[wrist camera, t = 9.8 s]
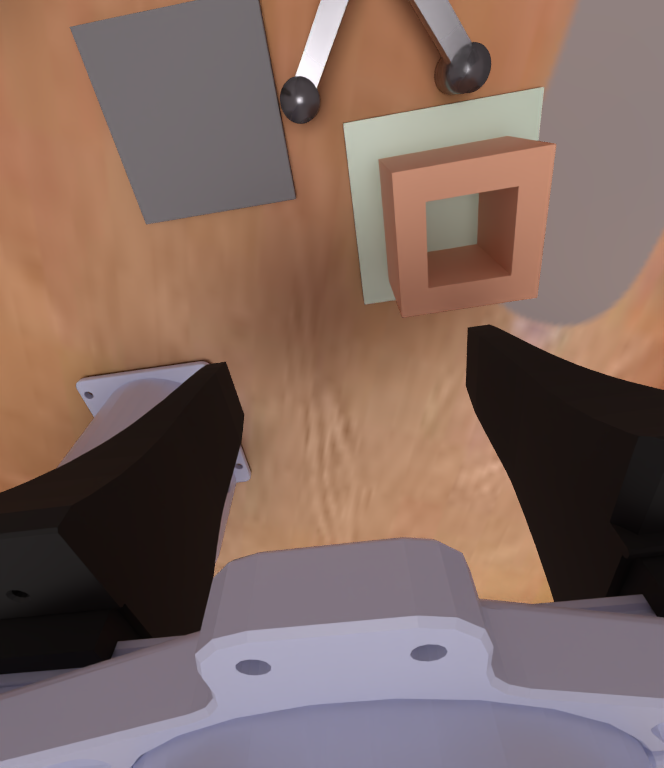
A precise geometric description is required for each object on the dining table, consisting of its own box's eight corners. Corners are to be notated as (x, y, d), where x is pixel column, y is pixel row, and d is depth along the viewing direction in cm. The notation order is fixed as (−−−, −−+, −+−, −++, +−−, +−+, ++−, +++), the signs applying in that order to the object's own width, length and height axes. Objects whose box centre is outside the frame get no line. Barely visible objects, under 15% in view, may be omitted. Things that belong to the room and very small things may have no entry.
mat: (296, 197, 19) (295, 199, 18) (149, 222, 19) (146, 224, 19) (257, -10, 15) (255, -13, 15) (75, 28, 15) (69, 26, 15)
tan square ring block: (498, 263, 20) (537, 297, 17) (388, 280, 21) (402, 317, 17) (507, 135, 17) (556, 143, 14) (378, 159, 18) (391, 173, 14)
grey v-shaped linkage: (469, 91, 17) (489, 89, 15) (289, 124, 17) (284, 126, 15) (475, -129, 13) (502, -172, 11) (253, -80, 14) (240, -111, 12)
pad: (520, 278, 21) (523, 281, 21) (364, 301, 22) (364, 304, 21) (539, 87, 17) (544, 87, 16) (343, 123, 17) (343, 123, 17)
